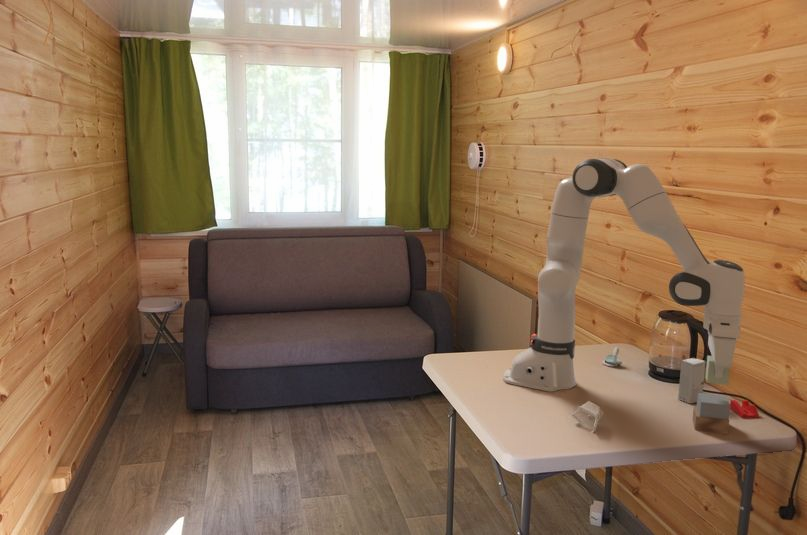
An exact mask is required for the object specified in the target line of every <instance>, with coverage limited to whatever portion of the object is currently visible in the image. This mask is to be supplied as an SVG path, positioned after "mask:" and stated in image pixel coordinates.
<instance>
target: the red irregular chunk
mask: <svg viewBox="0 0 807 535" xmlns="http://www.w3.org/2000/svg"><path fill="white" fill-rule="evenodd" d="M741 402H742V403H741V404H740V402H738V401H737V400H736V399H730V402H729V404H730V411H732V412H734V413H736V414H737V415H739V417H740V418H742V419H758V418H760V415H759V414H760V413H759V412H758V410H757V407H756V405H755V404H752V403H751V404H750V403H749V400H748V399H742V401H741Z"/></svg>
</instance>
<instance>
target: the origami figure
mask: <svg viewBox="0 0 807 535" xmlns="http://www.w3.org/2000/svg"><path fill="white" fill-rule="evenodd" d="M582 411H583V412H584V413H587V414H588V416H587V417H588V418H589V419H590V418H591V416H593V417H594V418H595V421H594V424H593V429H592V431H590V432H591V434H593V433H594V432H595V431H596V429H597V425H599V424H600V423H599V421H600V420H601V418H602V416H603V415H604V412H603V411H602V409H601V407H600V406H599V405H597V404H595V403H594V402H591V401H590V400H588V401H586V402H585V403H584V404H582V405H577V409H575V410H574V411H572V412H571V413H570V415H571V416H572V417H573V418H574V419H576V421H575V422H574V424H580V423H582V421H581V420H580V419H579V417H577V416H576V415H577V414H579V413H581V412H582Z"/></svg>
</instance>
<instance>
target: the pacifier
mask: <svg viewBox="0 0 807 535" xmlns="http://www.w3.org/2000/svg"><path fill="white" fill-rule="evenodd" d="M619 353H620V348H619V347H617V346H615V347H614V349H613V352H612V354H608V355H606V357H605V359H603V360H602V362H601V363H602V364H603V365H604V366H606V367H610V368H611V367H617V366H618V365H619V364H623V362H622V361H620V358H619V357H618V355H619Z"/></svg>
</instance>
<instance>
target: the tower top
mask: <svg viewBox="0 0 807 535" xmlns="http://www.w3.org/2000/svg"><path fill="white" fill-rule="evenodd" d="M696 406H697V409H698V412H699V416H701V417H710V418H718V419H726V420H729V421H730V419H729V418H730V411H731V410H730V402H729V400H728V398H727V396H726V395H721V394H712V393H704V392H703V393H698V398H697V402H696Z"/></svg>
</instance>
